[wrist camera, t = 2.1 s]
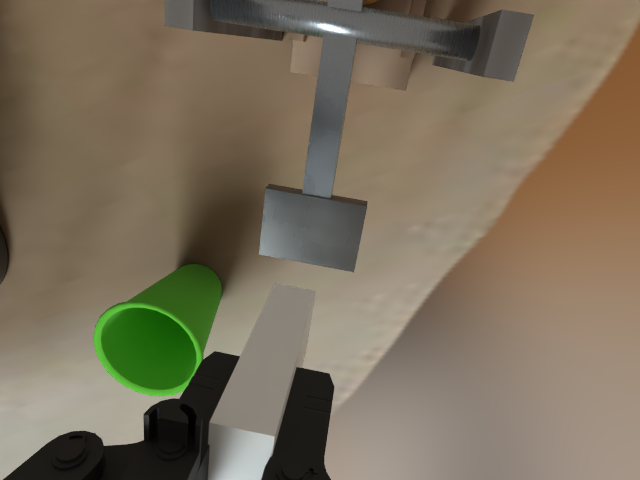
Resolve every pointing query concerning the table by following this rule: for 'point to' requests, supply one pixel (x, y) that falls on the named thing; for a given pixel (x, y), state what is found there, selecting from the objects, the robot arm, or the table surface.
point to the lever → (334, 114)
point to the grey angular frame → (378, 62)
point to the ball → (369, 1)
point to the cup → (160, 332)
